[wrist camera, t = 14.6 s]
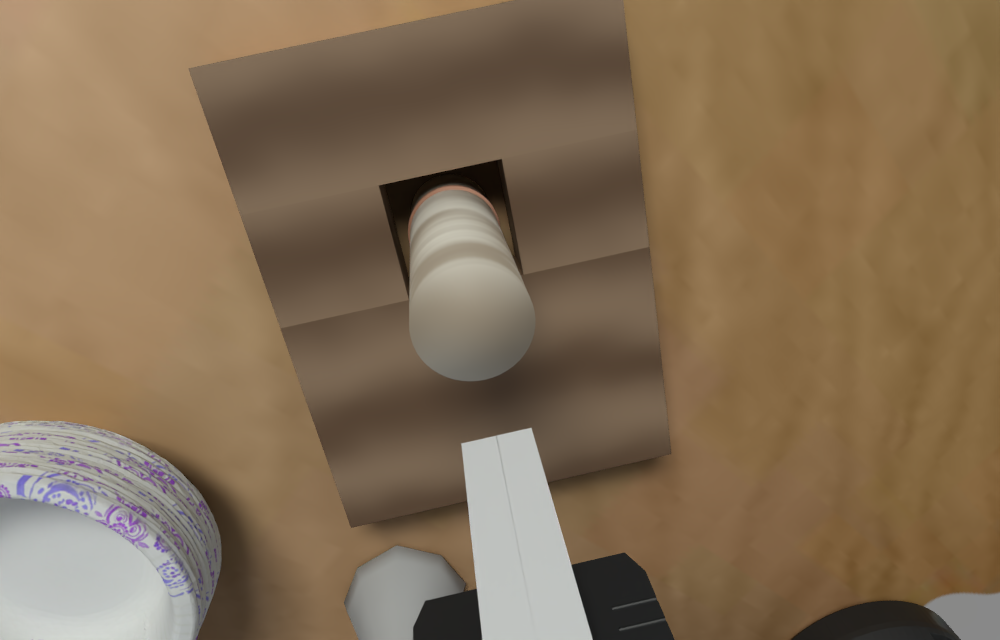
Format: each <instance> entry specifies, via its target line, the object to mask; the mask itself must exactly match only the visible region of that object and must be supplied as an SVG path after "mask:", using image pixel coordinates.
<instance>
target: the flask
mask: <svg viewBox="0 0 1000 640" xmlns="http://www.w3.org/2000/svg"><path fill="white" fill-rule="evenodd" d="M465 585H466V583H465V582H464V581H463V580H462V579H461V578H460V576H459V575H458V574H457V573H456V572H455V571H454V570H453V568H452V567H451V566H450V565H449V564H448V563H447V562H446V561H445V559H444V558H443V557H442V556H441V555H437V554H433V553H428V552H424V551H419V550H415V549H411V548H406V547H402V546H397V545H396V546H394V547H393V548H391V549H389V550H388V551H386V552H384V553H382V554H381V555H379V556H377V557H375V558H374V559H372V560H370V561H369V562H367V563H365V564H363V565H362V566H360V567H358V568H357V571H356V573H355V576H354V578H353V581H352V583H351V586H350V588H349V591H348V593H347V596H346V598H345V601H344V604H345V607H346V610H347V612H348V615H349V617H350V620H351V622H352V624H353V627H354V629H355V631H356V634H357V636H358V639H359V640H413V626H414V624H415V622H416V620H417V618H418V615H419V613H420V611H421V609H422V607H423V604H424V602H425V601H426V600H431V599H435V598H439V597H444V596H448V595H452V594H457V593H461V592H463V591H464V588H465Z"/></svg>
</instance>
